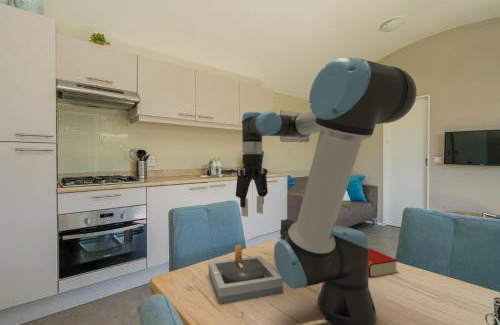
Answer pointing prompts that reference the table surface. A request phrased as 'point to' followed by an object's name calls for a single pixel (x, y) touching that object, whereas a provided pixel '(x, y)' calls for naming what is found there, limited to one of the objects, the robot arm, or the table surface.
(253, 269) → the crank dial
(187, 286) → the table surface
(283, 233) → the tool
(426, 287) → the table surface
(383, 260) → the book
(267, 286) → the square crank box
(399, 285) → the table surface
